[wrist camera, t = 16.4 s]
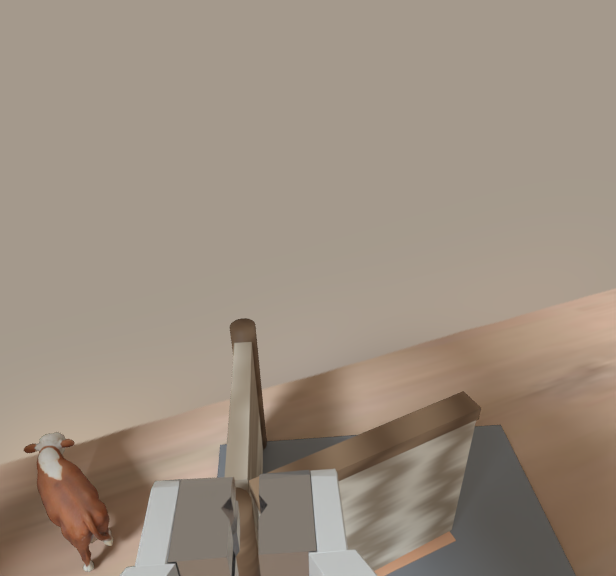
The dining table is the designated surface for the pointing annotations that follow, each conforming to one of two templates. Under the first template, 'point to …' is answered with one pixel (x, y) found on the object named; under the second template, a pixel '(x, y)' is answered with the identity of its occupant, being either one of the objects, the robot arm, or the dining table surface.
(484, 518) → the board
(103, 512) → the bull figurine
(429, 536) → the fence panel
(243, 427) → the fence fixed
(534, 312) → the dining table surface
